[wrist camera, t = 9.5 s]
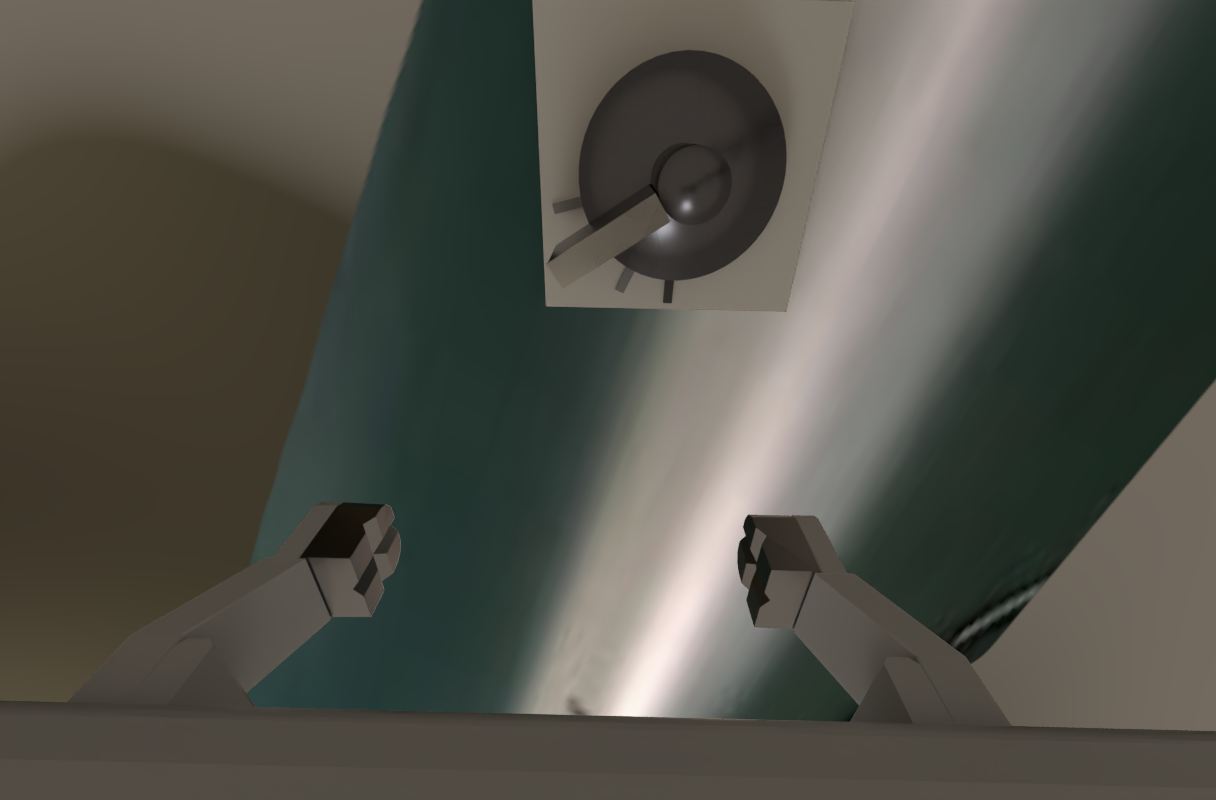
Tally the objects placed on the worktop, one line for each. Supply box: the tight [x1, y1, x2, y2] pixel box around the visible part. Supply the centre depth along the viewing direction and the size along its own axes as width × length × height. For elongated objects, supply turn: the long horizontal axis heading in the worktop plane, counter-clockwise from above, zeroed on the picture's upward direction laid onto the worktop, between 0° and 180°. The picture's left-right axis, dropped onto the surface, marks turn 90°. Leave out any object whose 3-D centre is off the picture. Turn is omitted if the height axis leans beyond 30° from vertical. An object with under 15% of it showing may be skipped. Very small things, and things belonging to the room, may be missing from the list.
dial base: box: [533, 0, 855, 312], centre depth 24 cm, size 14×14×2 cm
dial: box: [546, 50, 787, 289], centre depth 21 cm, size 12×10×5 cm
